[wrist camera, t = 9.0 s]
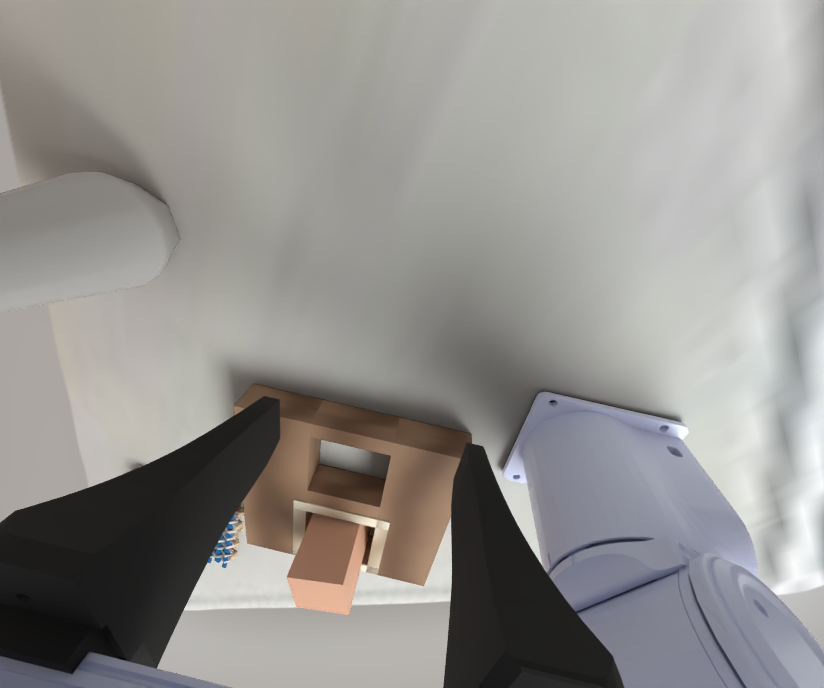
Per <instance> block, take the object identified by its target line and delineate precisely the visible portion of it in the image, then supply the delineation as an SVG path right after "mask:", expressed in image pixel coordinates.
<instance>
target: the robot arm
mask: <svg viewBox="0 0 824 688" xmlns="http://www.w3.org/2000/svg"><path fill="white" fill-rule="evenodd" d="M551 400H556V401H555V402H553V403H550V401H551ZM663 425H665V426H664V427H661V426H663ZM688 432H689V428H688V427H687V426H686V425H685V424H684V423H682V422H678V421H673V420H669V419H665V418H660V417H656V416H651V415H647V414H642V413H638V412H634V411H629V410H625V409H620V408H616V407H611V406H607V405H603V404H598V403H594V402H589V401H585V400H581V399H576V398H572V397H567V396H563V395H558V394H554V393H550V392H541V393H539V394H538V395H537V396H536V398H535V401H534V403H533V405H532V407H531V409H530V412H529V414H528V416H527V418H526V420H525V422H524V425H523V427H522V429H521V431H520V433H519V435H518V438H517V440H516V442H515V444H514V446H513V449H512V451H511V453H510V455H509V457H508V459H507V462H506V464H505V466H504V468H503V471H502V473H503V477H504V478H505V479H508V480H512V481H516V482H521V483H525V484H527V485H528V490H529V496H530V501H531V506H532V512H533V517H534V522H535V527H536V533H537V538H538V543H539V549H540V554H541V559H542V565H543V567H542V565H541V563H540V562H539V560H538V559H537V557H536V556H535V554H534V553H533V551H532V549H531V548H530V546H529V544H528V543H527V541H526V539H525V537H524V536H523V534H522V532H521V530H520V528H519V527H518V525H517V523H516V521H515V519H514V517H513V515H512V513H511V511H510V509H509V507H508V505H507V503H506V501H505V499H504V496H503V494H502V492H501V490H500V488H499V485H498V483H497V481H496V478H495V476H494V473H493V471H492V468H491V466H490V463H489V460H488V457H487V455H486V452H485V449H484V447H483V446H479V445H475V444H471V443H466V446H465V449H464V451H463V454H462V457H461V460H460V462H459V465H458V468H457V471H456V473H455V476H454V479H453V489H452V501H451V534H452V589H451V605H450V618H449V630H448V644H447V654H446V665H445V676H444V687H443V688H824V649H823V648H822V646H821V645H820V644H819V643H818V642H817V641H816V640H815V638H814V637H813V636H812V634H811V633H810V632H809V631H808V630H807V628H806V627H805V626H804V625H803V624H802V623H801V621H800V620H799V619H798V618H797V617H796V616H795V615H794V614H793V613H792V611H791V610H790V609H789V608H788V607H787V606H786V605H785V604H784V603H783V602H782V601H781V600H780V599H779V598H778V597H777V596H776V595H775V594H774V593H773V592H772V591H771V590H770V589H769V588H768V587H767V586H766V585H765V584H764V583H763V582H761V581H760V580H759V579H758V578H757V576H758V566H757V559H756V554H755V550H754V546H753V543H752V540H751V537H750V535H749V532H748V531H747V529H746V527H745V525H744V523H743V522H742V520H741V519H740V517H739V516H738V514H737V513H736V512H735V510H734V509H733V508H732V506H731V505H730V504H729V502H728V501H727V500H726V498H725V497H724V496H723V494H722V493H721V492H720V490H719V489H718V488H717V486H716V485H715V484H714V482H713V481H712V480H711V478H710V477H709V476H708V474H707V473H706V472H705V470H704V469H703V468H702V466H701V465H700V464H699V462H698V461H697V460H696V458H695V457H694V456H693V454H692V453H691V452H690V450H689V449H688V448H687V446H686V445H685V443H684V442H683V441H682V440H683V439H684V437H685V436H686V435H687V434H688ZM279 440H280V399H276V398H271V397H267V396H263V397H262V398H260V399H259V400H257V401H256V402H254V403H253V404H251V405H249V406H248V407H246V408H245V409H243V410H242V411H240V412H239V413H237V414H236V415H234V416H233V417H231V418H230V419H228V420H227V421H225V422H223V423H222V424H220V425H219V426H217V427H216V428H214V429H212V430H211V431H209V432H207V433H206V434H204V435H202V436H200V437H199V438H197V439H195V440H194V441H192V442H190V443H188V444H187V445H185V446H183V447H181V448H179V449H177V450H175V451H173V452H172V453H170V454H168V455H165V456H163V457H161V458H159V459H157V460H155V461H153V462H151V463H149V464H146V465H144V466H142V467H139V468H137V469H135V470H132V471H130V472H128V473H125V474H123V475H121V476H118V477H116V478H113V479H111V480H108V481H105V482H103V483H100V484H97V485H95V486H92V487H89V488H86V489H84V490H81V491H78V492H75V493H72V494H69V495H66V496H63V497H60V498H57V499H53V500H50V501H47V502H43V503H40V504H37V505H34V506H30V507H27V508H24V509H20V510H17V511H15V512H13V513H12V514H11V515H9V516H8V517H7V518H6V519H4V520H3V521H2V522H1V523H0V688H231V687H228V686H223V685H220V684H216V683H212V682H207V681H204V680H200V679H196V678H192V677H187V676H183V675H180V674H176V673H172V672H168V671H164V670H160V669H157V666H158V664H159V662H160V659H161V657H162V655H163V653H164V651H165V649H166V646H167V644H168V642H169V640H170V637H171V635H172V633H173V631H174V629H175V627H176V625H177V623H178V620H179V618H180V616H181V614H182V612H183V610H184V608H185V606H186V604H187V602H188V600H189V598H190V596H191V594H192V592H193V590H194V588H195V586H196V584H197V582H198V580H199V578H200V576H201V574H202V572H203V570H204V568H205V566H206V564H207V562H208V560H209V558H210V556H211V554H212V553H213V551H214V549H215V547H216V545H217V543H218V541H219V540H220V538H221V536H222V534H223V532H224V530H225V528H226V527H227V525H228V524H229V522H230V520H231V519H232V517H233V515H234V514H235V512H236V511H237V509H238V508H239V506H240V505H241V503H242V502H243V500H244V499H245V497H246V496H247V494H248V493H249V491H250V490H251V488H252V487H253V485H254V484H255V482H256V481H257V479H258V478H259V476H260V475H261V473H262V472H263V470H264V469H265V467H266V465H267V464H268V462H269V460H270V458H271V456H272V454H273V453H274V451H275V448H276V446H277V444H278V442H279Z"/></svg>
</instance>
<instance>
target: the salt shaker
mask: <svg viewBox="0 0 824 688" xmlns="http://www.w3.org/2000/svg"><path fill="white" fill-rule="evenodd" d="M179 240H180V237H179V234H178V232H177V229H176V226H175V223H174V220H173V217H172V215H171V212H170V209H169V206H167V205H166V204H164V203H163V202H161V201H160V200H158V199H157V198H156V197H154V196H153V195H151V194H150V193H148V192H147V191H145V190H144V189H142V188H141V187H140V186H138V185H136V184H133V183H130V182H128V181H125V180H122V179H120V178H117V177H114V176H112V175H109V174H106V173H104V172H94V171H92V172H73V173H67V174H64V175H60V176H57V177H54V178H50V179H47V180H43V181H40V182H37V183H33V184H30V185H27V186H23V187H20V188H17V189H13V190H10V191H7V192H3V193H0V313H1V312H7V311H12V310H17V309H23V308H27V307H33V306H38V305H44V304H49V303H55V302H60V301H65V300H71V299H76V298H81V297H87V296H92V295H97V294H103V293H108V292H113V291H119V290H124V289H130V288H135V287H140V286H143V285H145V284H146V283H148V282H149V281H150V280H152V279H153V278H155V277H156V276H157V275H159V274H160V273H161V272H163V270H164V268H165V266H166V264H167V261H168V259H169V257H170V255H171V252H172V250H173V249H174V247H175V246H176V245H177V243H178V242H179Z"/></svg>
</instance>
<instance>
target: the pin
mask: <svg viewBox="0 0 824 688" xmlns="http://www.w3.org/2000/svg"><path fill="white" fill-rule="evenodd" d="M370 528H371V526H366V525H362V524H358V523H354V522H350V521H345V520H341V519H337V518H333V517H329V516H324V515H320V514H316V513H313V515H312V517H311V520H310V522H309V525H308V527H307V529H306V532H305V534H304V537H303V539H302V542H301V544H300V546H299V549H298V551H297V554H296V556H295V558H294V561H293V563H292V566H291V568H290V570H289V573H288V575H287V580H288V583H289V586H290V589H291V592H292V595H293V598H294V601H295V604H296V607H299V608H306V609H313V610H320V611H327V612H334V613H341V614H347V615H349V613H350V608H351V604H352V600H353V596H354V592H355V588H356V584H357V580H358V576H359V572H360V568H361V564H362V560H363V556H364V552H365V548H366V544H367V540H368V536H369V532H370Z"/></svg>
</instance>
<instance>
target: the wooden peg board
mask: <svg viewBox="0 0 824 688" xmlns="http://www.w3.org/2000/svg"><path fill="white" fill-rule="evenodd" d="M263 396H267V397H271V398H276V399H280V440H279V442H278V444H277V446H276V448H275V451H274V453H273V454H272V456H271V458H270V460H269V462H268V464H267V465H266V467H265V469H264V470H263V472H262V473H261V475H260V476H259V478H258V479H257V481H256V482H255V484H254V485H253V487H252V488H251V490H250V491H249V493H248V494H247V496H246V497H245V499H244V500H243V506H244V516H245V526H246V536H247V543H248V544H252V545H256V546H260V547H264V548H268V549H272V550H277V551H281V552H285V553H289V554H293V555H296V554H297V551H298V549H299V546H300V544H301V542H302V539H303V537H304V534H305V532H306V529H307V527H308V525H309V522H310V520H311V517H312V515H313V513H316V514H320V515H324V516H329V517H333V518H337V519H341V520H345V521H350V522H354V523H358V524H362V525H366V526H371V527H375V532H374V537H372V536H368V540H367V544H366V548H365V552H364V556H363V560H362V564H361V568H360V571H363V572H368V573H372V574H376V575H380V576H384V577H388V578H392V579H397V580H401V581H405V582H409V583H413V584H417V585H421V586H424V584H425V582H426V579H427V577H428V574H429V571H430V569H431V566H432V564H433V561H434V559H435V556H436V553H437V551H438V548H439V546H440V543H441V540H442V538H443V535H444V533H445V530H446V528H447V525H448V522H449V520H450V517H451V501H452V489H453V479H454V476H455V473H456V471H457V468H458V465H459V462H460V460H461V457H462V454H463V451H464V449H465V446H466V443H471V444H472V434H470V433H465V432H461V431H456V430H452V429H448V428H443V427H439V426H435V425H430V424H426V423H422V422H417V421H413V420H409V419H404V418H400V417H396V416H391V415H387V414H383V413H378V412H374V411H370V410H365V409H361V408H357V407H352V406H348V405H343V404H339V403H335V402H330V401H326V400H322V399H317V398H313V397H309V396H304V395H300V394H296V393H291V392H287V391H283V390H278V389H274V388H270V387H265V386H261V385H257V384H253V385H252V386H251V387H250V388H249V389H248V390H247V391H246V393H245V394H244V395H243V396H242V397H241V398H240V399H239V400H238V401H237V403H236V404H235V405H234V415H236V414H237V413H239V412H240V411H242V410H243V409H245V408H246V407H248V406H249V405H251V404H253V403H254V402H256V401H257V400H259V399H260V398H262V397H263ZM321 440H325V441H330V442H334V443H338V444H343V445H347V446H351V447H355V448H360V449H364V450H368V451H373V452H377V453H381V454H386V455H390V456H391V458H390V463H389V467H388V472H387V477H386V480H384V479H380V478H375V477H371V476H367V475H363V474H358V473H354V472H350V471H345V470H341V469H337V468H333V467H328V466H324V465H320V464H319V460H320V445H321Z"/></svg>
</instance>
